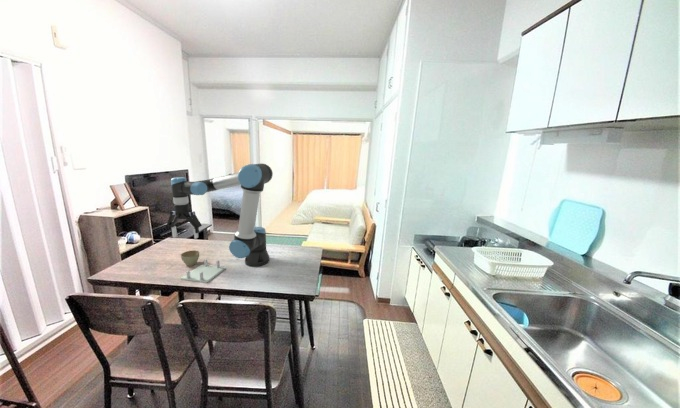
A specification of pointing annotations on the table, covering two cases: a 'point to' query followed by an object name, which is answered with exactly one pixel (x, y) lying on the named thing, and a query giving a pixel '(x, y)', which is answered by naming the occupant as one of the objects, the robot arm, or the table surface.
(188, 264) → the tan round bowl
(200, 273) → the tray
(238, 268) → the table surface
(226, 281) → the table surface
